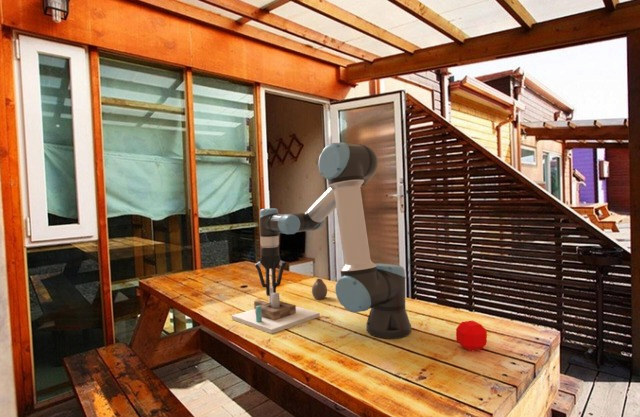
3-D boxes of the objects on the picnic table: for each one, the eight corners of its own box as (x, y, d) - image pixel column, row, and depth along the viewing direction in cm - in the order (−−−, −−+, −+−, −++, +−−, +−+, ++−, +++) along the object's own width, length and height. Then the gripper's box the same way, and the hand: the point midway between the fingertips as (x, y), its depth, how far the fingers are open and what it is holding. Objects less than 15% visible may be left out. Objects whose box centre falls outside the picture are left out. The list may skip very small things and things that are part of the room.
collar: (295, 313, 153) (295, 305, 153) (273, 320, 145) (273, 312, 145) (267, 304, 165) (267, 297, 165) (245, 311, 157) (245, 303, 157)
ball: (491, 351, 117) (491, 325, 117) (468, 354, 115) (468, 329, 115) (473, 341, 125) (473, 317, 125) (452, 344, 123) (451, 320, 122)
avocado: (325, 300, 175) (325, 281, 175) (310, 300, 176) (310, 280, 176) (328, 296, 182) (328, 277, 181) (313, 296, 183) (313, 277, 183)
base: (319, 316, 153) (319, 292, 153) (271, 333, 136) (270, 306, 135) (279, 305, 169) (278, 283, 169) (231, 319, 152) (231, 295, 152)
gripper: (283, 244, 167) (284, 299, 168) (252, 246, 163) (254, 302, 164) (287, 246, 160) (288, 303, 161) (255, 248, 156) (256, 307, 157)
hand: (271, 303), depth 162 cm, fingers closed
